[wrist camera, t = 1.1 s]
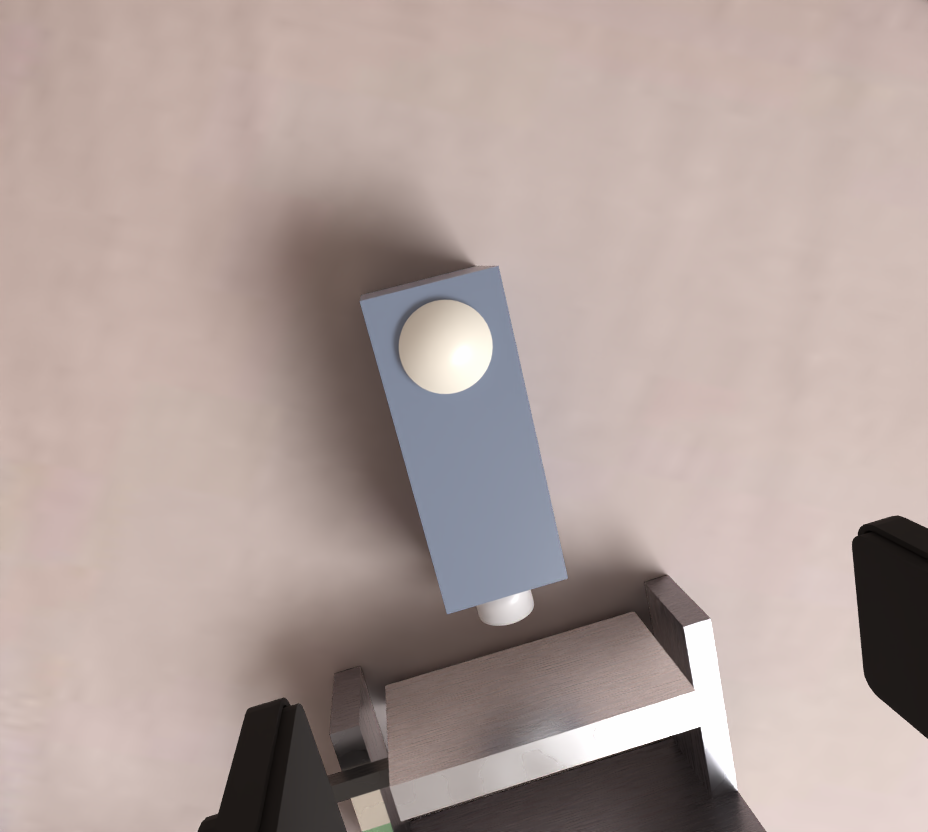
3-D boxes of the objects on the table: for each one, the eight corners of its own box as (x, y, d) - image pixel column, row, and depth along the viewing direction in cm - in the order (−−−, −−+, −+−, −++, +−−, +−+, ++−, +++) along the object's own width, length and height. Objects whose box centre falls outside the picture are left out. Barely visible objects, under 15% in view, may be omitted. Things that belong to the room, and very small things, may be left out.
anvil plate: (329, 702, 29) (319, 808, 24) (634, 611, 31) (696, 691, 25) (338, 731, 30) (332, 843, 24) (639, 640, 31) (701, 725, 25)
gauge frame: (334, 673, 30) (322, 816, 22) (667, 575, 31) (767, 676, 23) (392, 851, 32) (401, 1034, 25) (698, 752, 34) (797, 897, 26)
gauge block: (475, 266, 27) (499, 265, 22) (544, 566, 30) (579, 626, 25) (361, 294, 26) (359, 301, 21) (445, 596, 30) (460, 662, 25)
